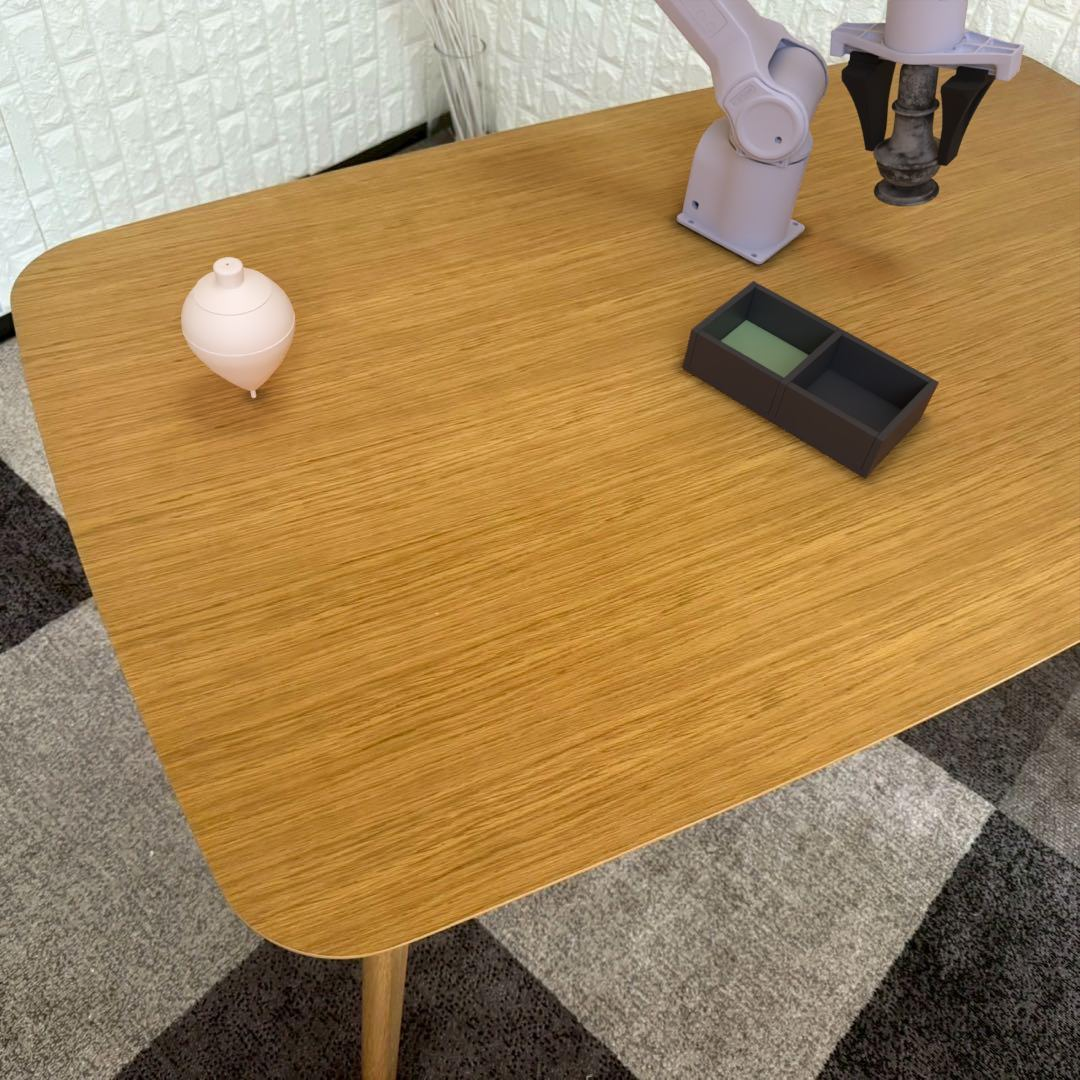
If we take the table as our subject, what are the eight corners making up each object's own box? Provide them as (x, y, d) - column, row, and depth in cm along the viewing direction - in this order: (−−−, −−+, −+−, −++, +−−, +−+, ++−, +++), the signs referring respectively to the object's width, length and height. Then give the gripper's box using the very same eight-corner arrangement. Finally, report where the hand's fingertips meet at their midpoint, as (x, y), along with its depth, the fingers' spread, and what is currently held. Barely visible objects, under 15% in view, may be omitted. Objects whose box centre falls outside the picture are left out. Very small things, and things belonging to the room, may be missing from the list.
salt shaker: (945, 206, 84) (966, 58, 75) (870, 210, 85) (882, 64, 77) (940, 171, 88) (960, 26, 79) (869, 175, 89) (880, 33, 81)
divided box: (681, 368, 82) (690, 329, 79) (742, 319, 86) (753, 280, 83) (865, 478, 76) (883, 441, 72) (920, 419, 80) (939, 382, 77)
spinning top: (296, 356, 80) (276, 223, 70) (314, 423, 75) (296, 291, 66) (195, 372, 78) (161, 237, 68) (208, 442, 73) (173, 308, 64)
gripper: (1054, -37, 72) (1019, 147, 82) (866, -52, 80) (854, 117, 90) (1011, 1, 69) (980, 187, 79) (819, -19, 77) (813, 153, 86)
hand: (910, 152), depth 84 cm, fingers closed on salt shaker, 6 cm apart
